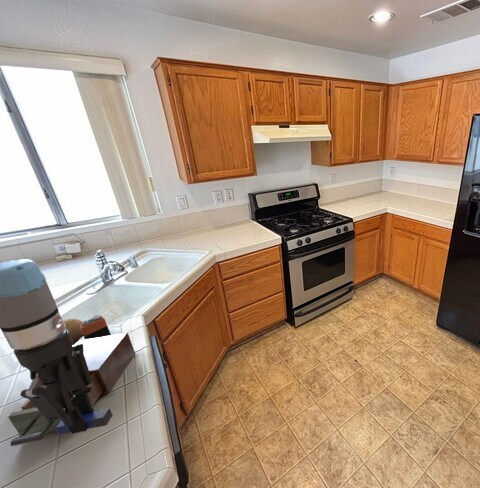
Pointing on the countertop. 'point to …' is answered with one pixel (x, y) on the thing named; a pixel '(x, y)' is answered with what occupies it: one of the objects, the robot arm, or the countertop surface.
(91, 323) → the battery
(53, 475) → the countertop surface
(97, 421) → the navy blue eraser
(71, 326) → the natural sponge
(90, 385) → the drawer
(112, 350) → the cabinet
